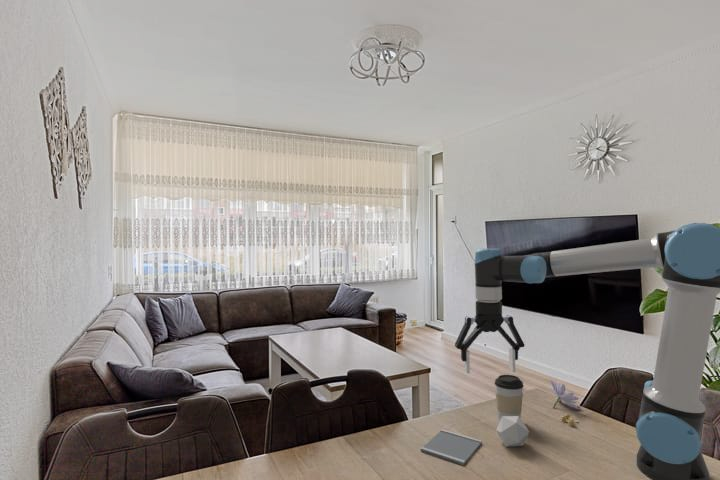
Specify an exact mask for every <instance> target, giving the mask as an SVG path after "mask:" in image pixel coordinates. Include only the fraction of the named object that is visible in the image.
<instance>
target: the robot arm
mask: <svg viewBox="0 0 720 480" xmlns="http://www.w3.org/2000/svg"><path fill="white" fill-rule="evenodd" d="M474 255H475V256H474V277H475V300H476V301H475V315H474V317H470V316H467V315H466V316H465V317H464V324H463V326H462V328H461V331H460V332H459V334H458V337H457V339H456V341H455V343H454V346H455V347H456V349H457V350H460V356H461V358H460V359H461V361H462V362H464V372H465V373H466V374H470V371H471V368H470V350H469V348H470V346H471V345H472V344H473V343H474V342H475V341H476V339H477V338H478V337H479V335H481V334H482V333H483V332H484V333H490V332H492V333H496V332H498V333H499V334H500V335H501V336H502V337H503V339H504V340H505V341H506V342H507V343H508V344H509V345H510V347H509V348H508V357H509V358H508V364H509V367H508V368H509V370H510V371H511V372H512V373H515V372H516V361H518V360H519V350H521V348H524V347H525V342H524V341H523V339H522V336H521V335H520V334H519V330H518V329H517V328H516V325H515V323H514V317H513V316H511V315H509V314H507V315H506V316H503V302H502V301H501V300H502V299H503V294H502V293H503V289H502V288H503V287H502V285H503V284H502V282H512V283H513V282H514V283H526V284H530V285H531V284H542V283H543V282H544V281H545V279H546V278H552V277H553V278H554V277H561V276H562V277H563V276H572V275H573V276H574V275H582V274H583V275H584V274H592V273H593V274H594V273H604V272H616V271H628V270H639V269H648V268H659V269H661V270H662V275H661V280H662V281H663V282H664V283H665V284H666V286H667V288H668V290H667V295H666V301H665V307H664V313H663V320H662V325H661V330H660V331H661V332H660V337H659V341H658V349H657V354H656V361H655V367H654V368H655V369H654V374H653V379H652V380H647V381H646V382H645V383H644V385H643V386H644V387H643V390H642V391H643V392H642V397H641V403H640V404H641V405H640V410H639V415H638V419H637V421H636V423H635V431H636V433H635V434H636V437H637V440H638V442H639V444H640V446H639V449H638V451H637V453H636V466H637V468H638V469H639V471H640V472H641V473H643V474H644V475H645V476H646V477H648V478H650V479H652V480H710V472H709V469H708V466H707V464H706V461H705V458H704V456H703V453H702V451H701V450H702V447H703V446H702V445H703V444H702V439H701V438H702V432H703V427H704V423H705V422H704V420H705V415H706V410H707V409H706V406H705V403H703V401H702V399H701V393H700V392H701V387H702V380H703V375H704V370H705V364H706V360H707V352H708V349H709V348H708V347H709V340H710V336H711V330H712V324H713V319H714V314H715V307H716V301H717V297H718V295H719V294H720V226H718V225H716V224H712V223H706V222H693V223H688V224H684V225H682V226H680V227H678V228H677V229H675V230H671V231H664V232H658V233H656V234H654V236H653V237H651V238H649V237H648V238H643V239H637V240H636V239H635V240H628V241H620V242H612V243H611V242H610V243H605V244H597V245H590V246H584V247H576V248H568V249H559V250H553V251H546V252H535V253H531V254H526V255H504V254H502V250H501V249H500V248H478V249H476V250H475V254H474ZM474 323H475V324H476V326H474V329H473V330H472V331H471V333H470V334H469V335H468V333H469V331H470V329H471V326H472V325H474ZM503 323H505V324H506V325H507V327H508V328H509V331H510V333H511V335H512V337H513V338H514V340H515V341H514V340H513V339H512V337H511V336H510V335H509V334H508V333H507V331H505V329H504V328H503V327H502V325H503ZM467 335H468V336H467ZM466 337H467V338H466Z"/></svg>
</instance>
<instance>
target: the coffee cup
mask: <svg viewBox="0 0 720 480" xmlns="http://www.w3.org/2000/svg"><path fill="white" fill-rule="evenodd" d="M494 386H495V392H494V393H495V401H496V410H497V419H498V420H497V422H498V423H499V422H500V420H501V418H502V416H519V417H520V419H521V420H522V417H521V415H522V407H523V396H524V395H523V390H524V389H523V388H524V381H522V380H521V379H520V378H519V377H518V376H516V375H514V374H513V375H512V374H501V375H499V376H498V377H497V378H495V380H494Z"/></svg>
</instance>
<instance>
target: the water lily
mask: <svg viewBox="0 0 720 480" xmlns="http://www.w3.org/2000/svg"><path fill="white" fill-rule="evenodd" d="M549 382H550V385H549V386H550V388H551V390H552V391H553V392H554V394H555V395H556V400H555V402H554V404H553V406H552V408H553V409H555V408H556V405H557V404H558V403H559V402H562V401H563V402H564V403H565V404H566V405H568V406H570V407H572V408H573V409H576V410H579V411H581V409H580V408H579V407H578V406H577V405H575V404H577V402H576V401H578V400H580V398H579V397H577V396H575V393H574V392H567V393H566V385H565V384H564V383H563V382H562V383H561V382H560V381H558V382H557V384H556V383H555V381H554V380H553V379H550V378H549Z"/></svg>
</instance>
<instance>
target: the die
mask: <svg viewBox="0 0 720 480" xmlns="http://www.w3.org/2000/svg"><path fill="white" fill-rule="evenodd" d="M495 432H496V433H497V435H498V437H499V438H500V440H501V441H502V443H503V445H504V446H505V447H523V446H524V445H525V443H526V440H527V439H528V435H529V433H530V430H529V428H528V427H527V426H526V424H525V423H524V422H523V420H522V418H521V419H520V417H519V416H502V418H501V420H500V422H499V421H498V425H497V428H496V429H495Z"/></svg>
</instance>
